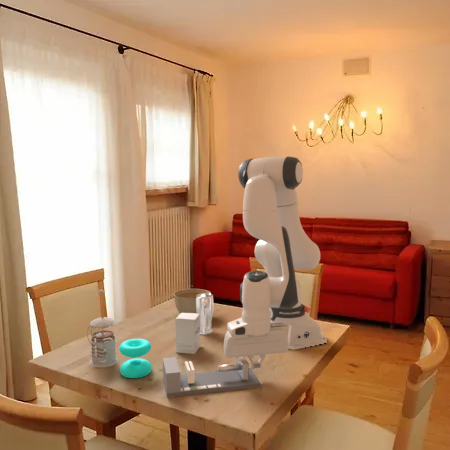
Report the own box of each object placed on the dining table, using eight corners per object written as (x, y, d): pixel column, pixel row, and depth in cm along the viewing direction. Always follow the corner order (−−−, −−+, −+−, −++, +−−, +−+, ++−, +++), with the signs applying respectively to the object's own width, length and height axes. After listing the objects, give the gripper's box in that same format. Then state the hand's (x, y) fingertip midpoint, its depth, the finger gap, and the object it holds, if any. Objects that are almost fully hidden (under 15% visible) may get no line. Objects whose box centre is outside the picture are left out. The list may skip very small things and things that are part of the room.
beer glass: (204, 327, 192) (204, 292, 191) (217, 331, 188) (217, 295, 186) (192, 332, 187) (192, 295, 185) (205, 336, 183) (205, 299, 181)
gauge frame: (250, 371, 152) (250, 349, 151) (260, 386, 141) (260, 364, 140) (163, 380, 146) (162, 358, 145) (166, 397, 135) (166, 373, 134)
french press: (103, 370, 154) (100, 295, 150) (79, 362, 160) (75, 290, 156) (124, 359, 162) (122, 288, 159) (100, 352, 168) (97, 284, 165)
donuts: (132, 351, 143) (112, 343, 150) (133, 382, 145) (113, 373, 151) (157, 342, 151) (137, 334, 157) (158, 372, 152) (138, 363, 159)
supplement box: (195, 354, 166) (195, 319, 164) (175, 352, 167) (174, 318, 166) (200, 346, 173) (200, 313, 171) (181, 345, 174) (180, 312, 173)
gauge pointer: (191, 373, 145) (191, 360, 145) (194, 382, 139) (194, 369, 138) (185, 374, 145) (184, 361, 144) (188, 383, 138) (187, 370, 138)
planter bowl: (205, 325, 196) (205, 299, 195) (168, 322, 200) (168, 297, 198) (215, 313, 211) (215, 289, 210) (181, 310, 215) (180, 287, 214)
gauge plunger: (242, 368, 150) (242, 353, 149) (249, 379, 142) (249, 363, 141) (215, 371, 148) (215, 355, 147) (220, 382, 140) (220, 366, 139)
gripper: (285, 318, 150) (284, 360, 152) (222, 323, 146) (222, 366, 147) (291, 325, 144) (291, 368, 146) (226, 330, 139) (226, 375, 141)
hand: (256, 367), depth 146 cm, fingers closed
